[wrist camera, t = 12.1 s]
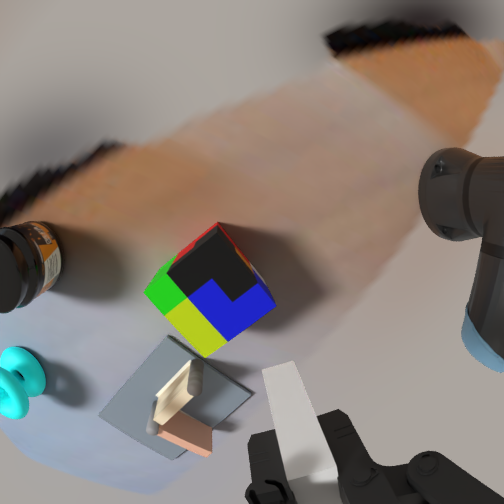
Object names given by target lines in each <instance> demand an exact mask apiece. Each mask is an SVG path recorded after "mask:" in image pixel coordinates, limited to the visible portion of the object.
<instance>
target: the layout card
mask: <svg viewBox="0 0 504 504" xmlns="http://www.w3.org/2000/svg"><path fill="white" fill-rule="evenodd" d="M193 359H200V358H199V357H197V356H196V355H194V354H193V353H192V352H190V351H189V350H188V349H186V348H185V347H183V346H182V345H181V344H179V343H178V342H177V341H175V340H174V339H173V338H171V337H170V336H169V335H167V336H166V337H165V338H164V340H163V341H162V342H161V343H160V344H159V345H158V346H157V348H156V349H155V350H154V351H153V352H152V353H151V354H150V356H149V357H148V358H147V359H146V360H145V361H144V362H143V364H142V365H141V366H140V367H139V368H138V369H137V370H136V372H135V373H134V374H133V375H132V376H131V377H130V378H129V380H128V381H127V382H126V383H125V384H124V385H123V387H122V388H121V389H120V390H119V391H118V392H117V393H116V395H115V396H114V397H113V398H112V399H111V400H110V401H109V403H108V404H107V405H106V406H105V407H104V408H103V410H102V411H101V412H100V413H99V415H98V416H99V417H100V418H102V419H103V420H105V421H106V422H108V423H109V424H111V425H112V426H114V427H115V428H117V429H118V430H120V431H122V432H123V433H125V434H126V435H128V436H130V437H131V438H133V439H134V440H136V441H138V442H140V443H141V444H143V445H145V446H146V447H148V448H150V449H152V450H154V451H155V452H157V453H159V454H161V455H163V456H165V457H166V458H168V459H170V460H174V459H175V458H176V457H178V456H179V455H180V454H181V453H183V452H184V451H185V450H187V449H185V448H183V447H181V446H179V445H176V444H174V443H172V442H170V441H168V440H166V439H164V438H162V437H160V436H158V435H155V436H152V435H149V434H148V433H147V432H146V427H147V423H148V420H149V416H150V412H151V408H152V404H153V402H154V401H155V400H158V397H159V396H160V395H161V394H162V393H163V392H164V390H165V389H166V388H167V387H168V386H169V385H170V384H171V383H172V382H173V381H174V380H175V379H176V378H177V377H178V376H179V375H180V374H181V373H182V372H183V371H184V370H185V369H186V368H187V367H188V366H189V365H190V363H191V361H192V360H193ZM200 360H202V359H200ZM202 361H203V360H202ZM203 363H204V371H203V388H202V393H201V394H200V395H199V396H194V397H193V398H192V399H191V400H189V401H188V402H187V403H186V404H185V405H184V406H183V407H182V408H181V409H180V410H179V412H181V413H183V414H185V415H187V416H189V417H191V418H193V419H195V420H197V421H199V422H201V423H203V424H205V425H207V426H210V427H212V429H213V428H214V427H215V426H216V425H217V424H219V423H220V422H221V421H222V420H223V419H224V418H226V417H227V416H228V415H229V414H230V413H231V412H233V411H234V410H235V409H236V408H237V407H238V406H239V405H241V404H242V403H243V402H244V401H245V400H246V399H247V398H248V397H250V396H251V392H250V391H248V390H246V389H245V388H243V387H242V386H240V385H239V384H237V383H236V382H234V381H232V380H231V379H229V378H228V377H226V376H225V375H223V374H222V373H220V372H219V371H217V370H216V369H215V368H213V367H212V366H210V365H209V364H207V363H206V362H204V361H203Z"/></svg>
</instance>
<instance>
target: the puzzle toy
mask: <svg viewBox="0 0 504 504" xmlns="http://www.w3.org/2000/svg"><path fill="white" fill-rule="evenodd" d="M144 294H145V295H146V296H147V297H148V298H149V299H150V300H151V302H152V303H153V304H154V305H155V306H156V307H157V308H158V309H159V310H160V312H161V313H162V314H163V315H164V316H165V317H166V318H167V319H168V320H169V321H170V322H171V324H172V325H173V326H174V327H175V328H176V329H177V330H178V331H179V332H180V333H181V334H182V335H183V336H184V337H185V338H186V339H187V340H188V342H189V343H190V344H191V345H192V346H193V347H194V348H195V349H196V350H197V351H198V352H199V353H200V354H201V355H202V356H203V357H204V358H206V357H207V356H209V355H210V354H211V353H213V352H214V351H216V350H217V349H219V348H220V347H221V346H223V345H224V344H226V343H227V342H228V341H230V340H231V339H233V338H234V337H235V336H237V335H238V334H239V333H241V332H242V331H244V330H245V329H246V328H248V327H249V326H250V325H252V324H253V323H254V322H256V321H257V320H259V319H260V318H261V317H263V316H264V315H265V314H267V313H268V312H269V311H271V310H272V309H273V308H275V307H276V304H275V301H274V299H273V297H272V295H271V293H270V291H269V289H268V287H267V285H266V283H265V281H264V279H263V278H262V277H261V275H260V274H259V273H258V272H257V270H256V269H255V268H254V267H253V265H252V264H251V263H250V262H249V260H248V259H247V258H246V257H245V256H244V254H243V253H242V252H241V251H240V249H239V248H238V247H237V246H236V244H235V243H234V242H233V241H232V239H231V238H230V237H229V236H228V234H227V233H226V232H225V231H224V229H223V228H222V227H221V226H220V224H219V223H218V222H217V223H215V224H214V225H213V226H212V227H210V228H209V229H208V230H207V231H205V232H204V233H203V234H202V235H200V236H199V237H198V238H197V239H195V240H194V241H193V242H192V243H190V244H189V245H188V246H187V247H186V248H184V249H183V250H182V251H181V252H179V253H178V254H177V255H176V256H175V257H173V258H172V259H171V260H170V261H169V262H167V263H166V264H165V265H164V266H163V267H161V268H160V269H159V271H158V272H157V273H156V275H155V276H154V278H153V279H152V281H151V282H150V284H149V285H148V286H147V288H146V289H145V291H144Z"/></svg>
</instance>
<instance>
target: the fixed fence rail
mask: <svg viewBox="0 0 504 504" xmlns="http://www.w3.org/2000/svg"><path fill="white" fill-rule="evenodd" d="M203 371H204V363H203V361H202V360H200V359H193V360H192V361H191V363H190V365H189V366H188V367H187V368H186V369H185V370H184V371H183V372H182V373H181V374H180V375H179V376H178V377H177V378H176V379H175V380H174V381H173V382H172V383H171V384H170V385H169V386H168V387H167V388H166V389H165V390H164V392H163V393H162V394H161V395H160V396H159V397H158V401H157V406H156V410H155V414H154V418H153V420H154V421H156V422H157V423H159V424H161V425H163V424H165V423H166V422H167V421H168V420H169V419H170V418H171V417H172V416H173V415H174V414H176V413H177V412H178V411H179V410H180V409H181V408H182V407H183V406H184V405H185V404H186V403H187V402H188V401H189V400H191V399H192V398H193V397H194V396H199V395H200V394H201V393H202V388H203Z"/></svg>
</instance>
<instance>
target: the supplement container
mask: <svg viewBox="0 0 504 504" xmlns="http://www.w3.org/2000/svg"><path fill="white" fill-rule="evenodd" d="M63 267H64V254H63V249H62V245H61V243H60V241H59V239H58V237H57V235H56V234H55V233H54V231H53V230H52V229H51V228H50V227H48V226H47V225H45V224H43V223H41V222H37V221H29V222H25V223H23V224H19V225H15V226H11V227H2V228H0V313H8V312H11V311H12V310H14V309H15V308H22V307H24V306H26V305H28V304H29V303H31V302H32V301H33V299H35V298H36V297H38V296H39V295H41V294H42V293H44V292H45V291H47V290H49V289H51V288H52V287H53V286H54V285H55V284H56V283H57V282H58V281H59V279H60V277H61V275H62V272H63Z"/></svg>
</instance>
